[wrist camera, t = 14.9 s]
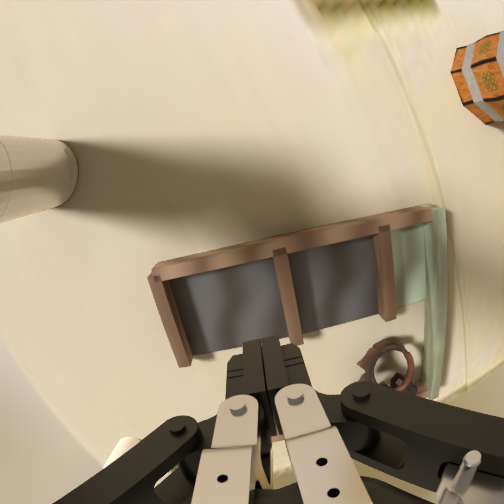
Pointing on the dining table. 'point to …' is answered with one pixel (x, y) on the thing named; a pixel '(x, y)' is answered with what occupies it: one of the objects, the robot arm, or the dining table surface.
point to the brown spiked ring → (398, 380)
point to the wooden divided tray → (310, 286)
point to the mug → (481, 77)
